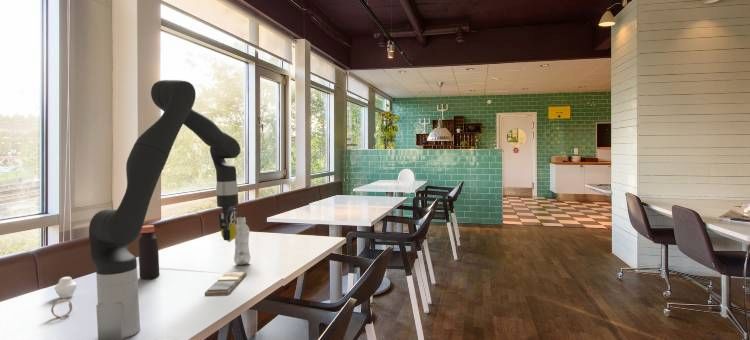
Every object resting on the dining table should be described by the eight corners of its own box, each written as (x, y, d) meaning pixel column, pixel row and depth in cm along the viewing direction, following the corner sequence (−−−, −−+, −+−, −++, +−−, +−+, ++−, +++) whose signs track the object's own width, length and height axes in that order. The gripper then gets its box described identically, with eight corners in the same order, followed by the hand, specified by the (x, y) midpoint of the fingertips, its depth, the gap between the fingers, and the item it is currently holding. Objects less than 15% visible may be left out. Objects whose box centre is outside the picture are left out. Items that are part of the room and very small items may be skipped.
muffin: (51, 300, 138) (50, 280, 138) (60, 294, 144) (58, 274, 144) (73, 298, 140) (71, 278, 139) (80, 292, 146) (79, 273, 145)
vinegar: (135, 279, 160) (132, 227, 159) (149, 274, 167) (146, 224, 166) (150, 280, 158) (147, 228, 157) (163, 274, 165) (161, 224, 164)
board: (228, 294, 140) (228, 290, 140) (204, 295, 140) (204, 291, 139) (246, 275, 162) (246, 271, 162) (225, 275, 162) (225, 271, 161)
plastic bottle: (233, 263, 179) (231, 217, 178) (249, 261, 182) (247, 216, 181) (235, 267, 173) (233, 219, 172) (251, 265, 176) (250, 218, 175)
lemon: (232, 243, 152) (231, 222, 152) (218, 243, 153) (217, 222, 153) (240, 240, 158) (239, 219, 157) (226, 240, 159) (225, 219, 158)
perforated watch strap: (72, 315, 125) (71, 298, 125) (53, 320, 122) (52, 303, 121) (70, 313, 127) (69, 296, 127) (51, 317, 123) (49, 301, 123)
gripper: (231, 195, 148) (233, 242, 148) (242, 191, 162) (244, 233, 163) (210, 195, 147) (212, 243, 148) (223, 191, 162) (225, 234, 162)
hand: (229, 238), depth 155 cm, fingers closed on lemon, 5 cm apart
